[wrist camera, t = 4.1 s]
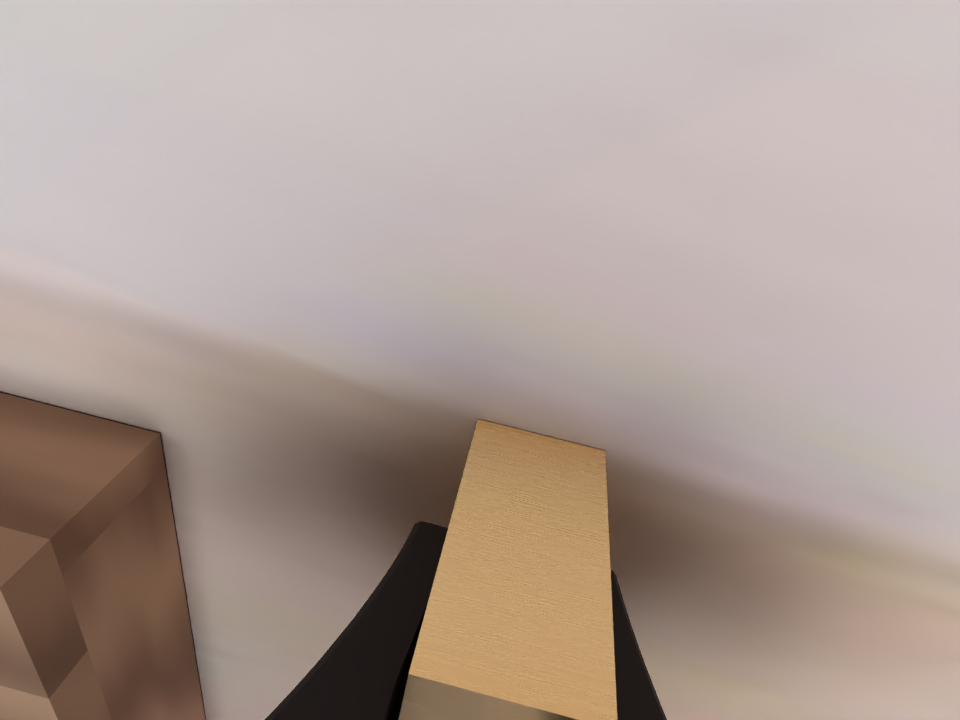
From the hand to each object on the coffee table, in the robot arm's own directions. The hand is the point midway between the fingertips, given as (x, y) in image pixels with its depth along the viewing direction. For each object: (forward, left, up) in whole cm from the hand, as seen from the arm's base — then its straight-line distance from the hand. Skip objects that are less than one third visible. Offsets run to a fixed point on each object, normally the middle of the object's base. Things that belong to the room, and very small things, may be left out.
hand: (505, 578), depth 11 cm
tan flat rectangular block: (0, 0, -1) cm, 1 cm away
